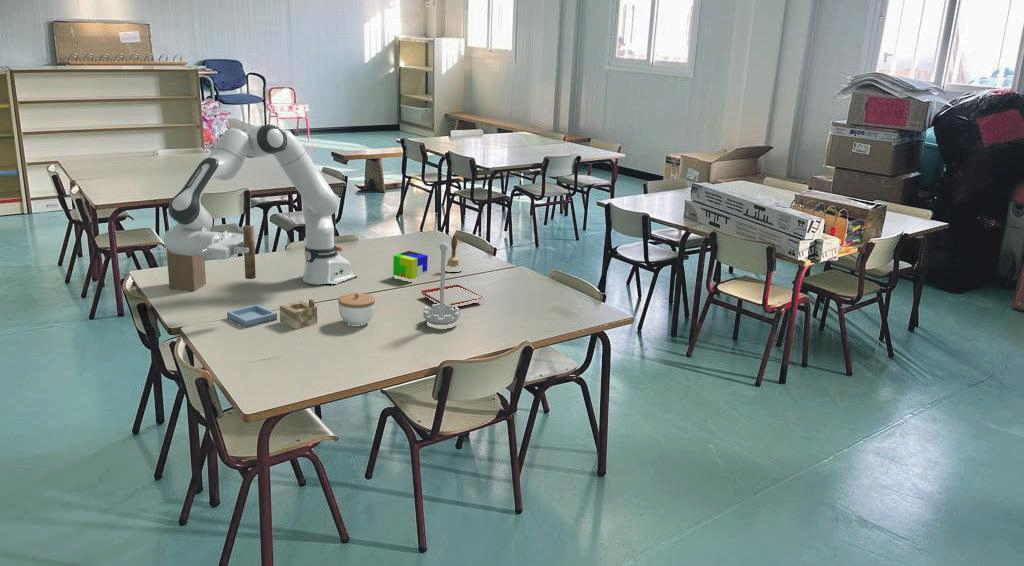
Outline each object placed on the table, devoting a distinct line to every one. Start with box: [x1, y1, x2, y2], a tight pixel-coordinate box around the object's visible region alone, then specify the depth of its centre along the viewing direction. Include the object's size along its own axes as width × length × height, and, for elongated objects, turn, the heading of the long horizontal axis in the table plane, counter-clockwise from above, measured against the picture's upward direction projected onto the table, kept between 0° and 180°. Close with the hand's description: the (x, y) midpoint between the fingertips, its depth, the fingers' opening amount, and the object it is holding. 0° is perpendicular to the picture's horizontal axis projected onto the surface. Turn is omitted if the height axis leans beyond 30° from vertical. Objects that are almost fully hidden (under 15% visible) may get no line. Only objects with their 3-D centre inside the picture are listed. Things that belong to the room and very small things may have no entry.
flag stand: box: [422, 242, 461, 325], centre depth 278 cm, size 13×13×30 cm
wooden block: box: [166, 248, 207, 292], centre depth 301 cm, size 10×10×20 cm
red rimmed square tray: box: [420, 284, 484, 306], centre depth 306 cm, size 18×18×3 cm
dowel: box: [242, 224, 257, 280], centre depth 268 cm, size 3×3×18 cm
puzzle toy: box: [392, 250, 429, 279], centre depth 330 cm, size 10×10×10 cm
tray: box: [226, 304, 278, 329], centre depth 275 cm, size 12×12×2 cm
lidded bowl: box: [337, 292, 376, 325], centre depth 276 cm, size 13×13×11 cm
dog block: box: [279, 298, 318, 330], centre depth 274 cm, size 9×9×8 cm
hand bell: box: [446, 234, 460, 267], centre depth 343 cm, size 8×8×16 cm
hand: (251, 248), depth 268 cm, fingers closed on dowel, 3 cm apart
